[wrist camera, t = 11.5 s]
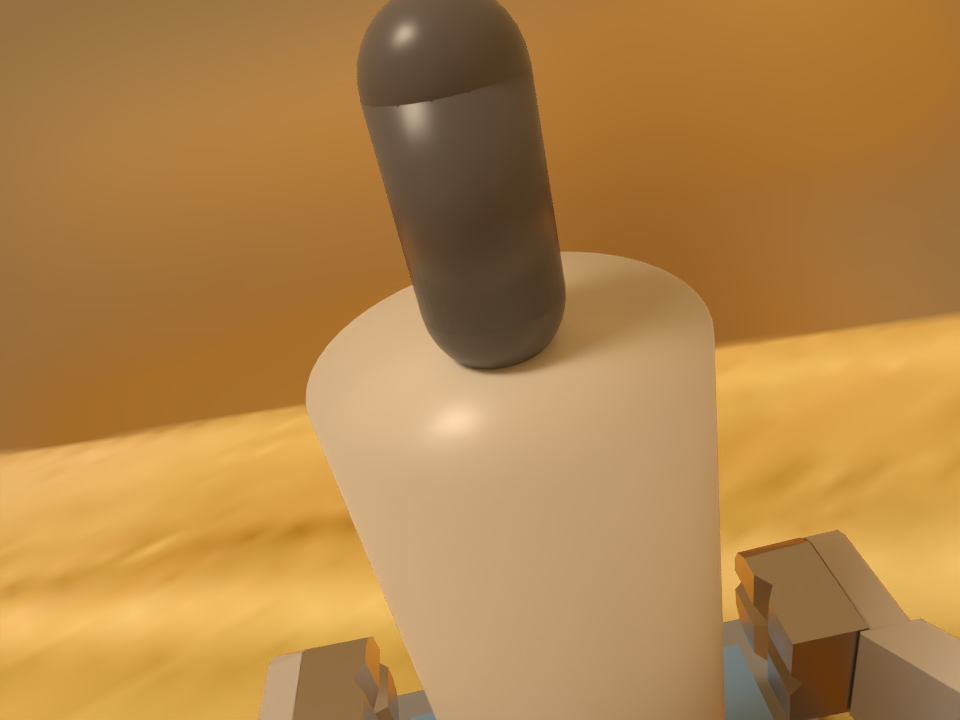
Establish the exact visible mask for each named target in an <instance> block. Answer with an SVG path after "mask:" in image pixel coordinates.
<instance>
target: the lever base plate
mask: <svg viewBox="0 0 960 720" xmlns="http://www.w3.org/2000/svg"><path fill="white" fill-rule="evenodd" d="M723 655H724V690H725V720H788V719H787V717H786V715H785V713H784V711H783V709H782V707H781V705H780V703H779V701H778V699H777V697H776V696H775V694H774V692H773V690H772V688H771V686H770V684H769V682H768V661H766V660H765V659H763V658H762V657H760V656H759V655H757V654H756V653H754V651H753V649H752V647H751V645H750V643H749V641H748V639H747V637H746V634H745V632H744V629H743V627H742V624H741V621H740V619H738V620H734V621H729V622H725V623H723ZM397 700H398V708H399V720H436V718H435V715H434V713H433V711H432V708H431V706H430V704H429V701H428V699H427V696H426V694H425V692H424V690H422V691H418V692H413V693H409V694H404V695H400V696H397ZM808 720H819V719H818V718H813V719H808Z"/></svg>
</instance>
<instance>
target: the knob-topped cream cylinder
mask: <svg viewBox="0 0 960 720" xmlns="http://www.w3.org/2000/svg"><path fill="white" fill-rule="evenodd" d="M357 84H358V90H359V95H360V102H361V105H362V109H363V113H364V116H365V119H366V123H367V126H368V130H369V134H370V137H371V141H372V144H373V148H374V151H375V155H376V158H377V162H378V165H379V168H380V172H381V176H382V179H383V183H384V186H385V190H386V193H387V197H388V200H389V204H390V207H391V210H392V214H393V218H394V221H395V225H396V228H397V231H398V235H399V239H400V242H401V246H402V249H403V253H404V256H405V259H406V264H407V267H408V270H409V274H410V277H411V281H412V285H411V286H409V287H407V288H405V289H403V290H401V291H399V292H397V293H395V294H393V295H391V296H389V297H388V298H386V299H384V300H382V301H381V302H379V303H377V304H376V305H374V306H373V307H371V308H369V309H368V310H367V311H366V312H364V313H363V314H361V315H360V316H358V317H357V318H356V319H355V320H353V321H352V322H351V323H350V324H349V325H347V326H346V327H345V328H344V329H343V330H342V331H341V332H340V333H339V334H338V335H337V336H336V337H335V338H334V339H333V340H332V341H331V342H330V343H329V345H328V346H327V347H326V348H325V350H324V351H323V353H322V354H321V356H320V357H319V358H318V360H317V362H316V364H315V366H314V368H313V370H312V372H311V375H310V378H309V381H308V384H307V391H306V406H307V413H308V416H309V419H310V421H311V423H312V426H313V428H314V431H315V433H316V435H317V438H318V440H319V442H320V445H321V447H322V450H323V452H324V454H325V457H326V459H327V461H328V464H329V466H330V469H331V471H332V473H333V476H334V478H335V480H336V483H337V485H338V488H339V490H340V492H341V495H342V497H343V499H344V502H345V504H346V507H347V509H348V511H349V514H350V516H351V518H352V521H353V523H354V526H355V528H356V530H357V533H358V535H359V537H360V540H361V542H362V545H363V547H364V549H365V552H366V554H367V556H368V559H369V561H370V564H371V566H372V568H373V571H374V573H375V575H376V578H377V580H378V583H379V585H380V587H381V590H382V592H383V594H384V597H385V599H386V602H387V604H388V606H389V609H390V611H391V613H392V616H393V618H394V620H395V623H396V625H397V628H398V630H399V632H400V635H401V637H402V639H403V642H404V644H405V647H406V649H407V651H408V654H409V656H410V658H411V661H412V663H413V666H414V668H415V670H416V673H417V675H418V677H419V680H420V682H421V685H422V687H423V689H424V692H425V694H426V696H427V699H428V701H429V704H430V706H431V708H432V711H433V713H434V715H435V718H436V720H725V690H724V655H723V621H722V586H721V551H720V516H719V481H718V446H717V411H716V376H715V341H714V328H713V321H712V318H711V315H710V313H709V310H708V308H707V306H706V305H705V303H704V302H703V300H702V299H701V297H700V296H699V295H698V294H697V293H696V292H695V291H694V290H693V289H692V288H691V287H690V286H689V285H688V284H686V283H685V282H683V281H682V280H680V279H679V278H678V277H676V276H674V275H672V274H670V273H668V272H666V271H664V270H663V269H661V268H658V267H655V266H653V265H650V264H647V263H644V262H640V261H637V260H633V259H629V258H625V257H620V256H614V255H608V254H599V253H589V252H560V248H559V241H558V235H557V228H556V222H555V215H554V209H553V202H552V196H551V189H550V184H549V177H548V170H547V163H546V157H545V150H544V145H543V137H542V131H541V125H540V118H539V112H538V105H537V99H536V93H535V86H534V79H533V73H532V66H531V61H530V58H529V54H528V50H527V46H526V43H525V40H524V38H523V36H522V34H521V32H520V30H519V28H518V25H517V24H516V23H515V21H514V20H513V19H512V17H511V16H510V14H509V13H508V12H507V10H506V9H505V8H504V7H503V6H501V5H500V4H499V3H498V2H497V1H496V0H390V1H389V2H388V3H387V4H386V5H384V6H383V7H382V9H380V11H378V13H377V14H376V16H375V17H374V19H373V20H372V22H371V23H370V25H369V26H368V28H367V30H366V33H365V35H364V38H363V40H362V43H361V45H360V51H359V56H358V61H357Z"/></svg>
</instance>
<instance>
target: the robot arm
mask: <svg viewBox="0 0 960 720" xmlns="http://www.w3.org/2000/svg"><path fill="white" fill-rule="evenodd" d="M735 571H736V573H737V575H738V577H739V579H740V580H741V583H740V584H739V586H738V587H737V588H736V589H735V591H736V605H737V609H738V613H739V617H740V621H741V624H742V627H743V629H744V632H745V634H746V637H747V639H748V641H749V643H750V645H751V647H752V649H753V651H754V653H756V654H757V655H759V656H760V657H762V658H763V659H765V660H766V661H768V682H769V684H770V686H771V688H772V690H773V692H774V694H775V696H776V697H777V699H778V701H779V703H780V705H781V707H782V709H783V711H784V713H785V715H786V717H787V719H788V720H808V719H813V718H819V717H824V716H829V715H834V714H840V713H845V712H850V716H852V717H853V718H854V719H855V720H960V639H958V638H956V637H954V636H952V635H951V634H949V633H947V632H945V631H943V630H941V629H939V628H938V627H936V626H934V625H932V624H930V623H928V622H926V621H924V620H923V619H916V620H909V618H908V617H907V616H906V614H905V613H904V612H903V610H902V609H901V608H900V606H899V605H898V604H897V603H896V601H895V600H894V599H893V597H892V596H891V595H890V593H889V592H888V591H887V589H886V588H885V587H884V585H883V584H882V583H881V581H880V580H879V579H878V577H877V576H876V575H875V574H874V572H873V571H872V570H871V568H870V567H869V566H868V564H867V563H866V562H865V560H864V559H863V558H862V556H861V555H860V554H859V552H858V551H857V550H856V549H855V547H854V546H853V545H852V543H851V542H850V541H849V539H848V538H847V537H846V535H845V534H843V533H841V532H840V531H838V530H835V531H830V532H826V533H822V534H817V535H813V536H809V537H805V538H796V539H792V540H788V541H784V542H780V543H776V544H772V545H767V546H763V547H759V548H755V549H751V550H747V551H742V552H738V553H737V555H736V557H735ZM379 662H380V649H379V647H378V645H377V643H376V642H375V640H374V638H373V637H368V638H363V639H358V640H353V641H348V642H343V643H338V644H332V645H327V646H322V647H317V648H312V649H307V650H302V651H298V652H293V653H288V654H284V655H279V656H275V657H273V659H272V661H271V663H270V665H269V667H268V670H267V676H266V681H265V686H264V692H263V697H262V703H261V708H260V714H259V719H258V720H399V708H398V700H397V692H396V688H395V685H394V681H393V677H392V675H391V673H390V671H389V668H388V667H386V666H384V665H382V664H380V663H379Z"/></svg>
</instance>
